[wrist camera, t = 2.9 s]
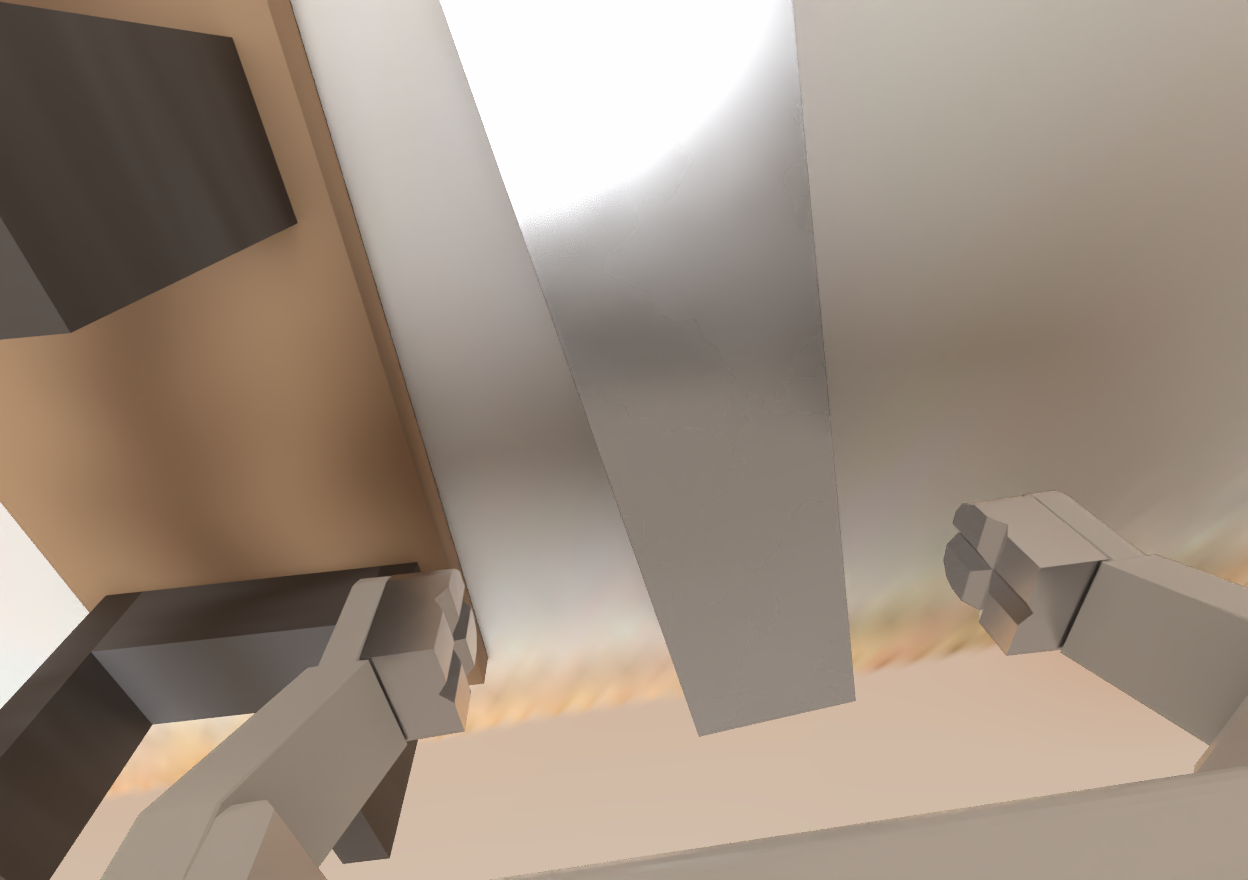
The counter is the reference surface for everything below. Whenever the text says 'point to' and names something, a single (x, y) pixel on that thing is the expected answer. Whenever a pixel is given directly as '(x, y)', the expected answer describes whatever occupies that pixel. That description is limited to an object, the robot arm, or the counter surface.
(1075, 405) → the counter surface
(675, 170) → the rail
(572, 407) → the counter surface
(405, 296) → the counter surface
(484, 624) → the counter surface
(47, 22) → the stand
